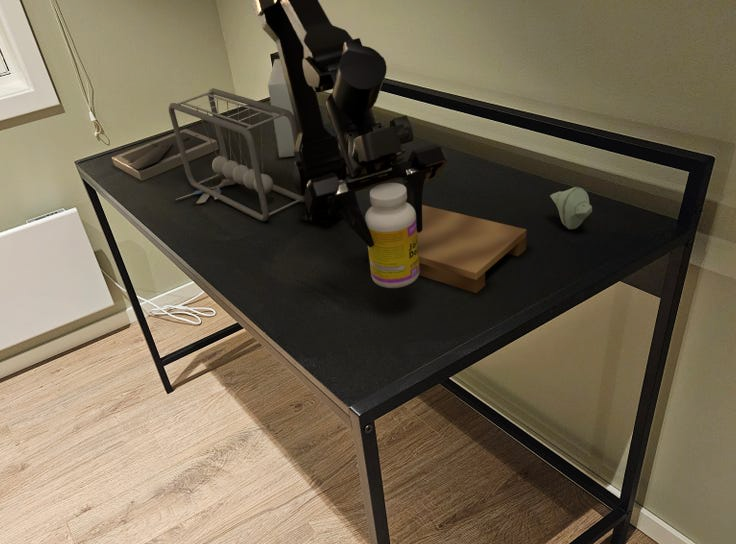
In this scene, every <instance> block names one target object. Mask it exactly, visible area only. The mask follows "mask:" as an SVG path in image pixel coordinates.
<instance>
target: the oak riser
mask: <svg viewBox="0 0 736 544" xmlns="http://www.w3.org/2000/svg"><path fill="white" fill-rule="evenodd" d="M417 240H418V254H419V275H418V277H419V276H420V277H423V278H427V279H429V280H432V281H436V282H438V283H441V284H445V285H448V286H452V287H454V288H458V289H460V290H465V291H467V292H470V293H473V294H478V292H480V291H481V290H482V289H483V288H484V287H485V286H486V272H487V271H488V270H490V269H491V268H492V267H493V266H494V265H495V264H496V263H498V262H499V260H501V259H502V258H503V257H504V256H506V255H511V256H515V257H519V256H520V255H521V254H523V253H524V252H525V251H526V250H527V228H522V227H517V226H514V225H510V224H506V223H500V222H497V221H492V220H488V219H484V218H480V217H475V216H472V215H471V216H470V215H468V214H462V213H458V212H454V211H449V210H447V209H442V208H441V209H440V208H438V207H433V206H428V205H424V204H422V231H421V232H420V233H418V232H417ZM367 252H368V253H369V251H367ZM368 260H369V261H370V259H369V258H368Z"/></svg>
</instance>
